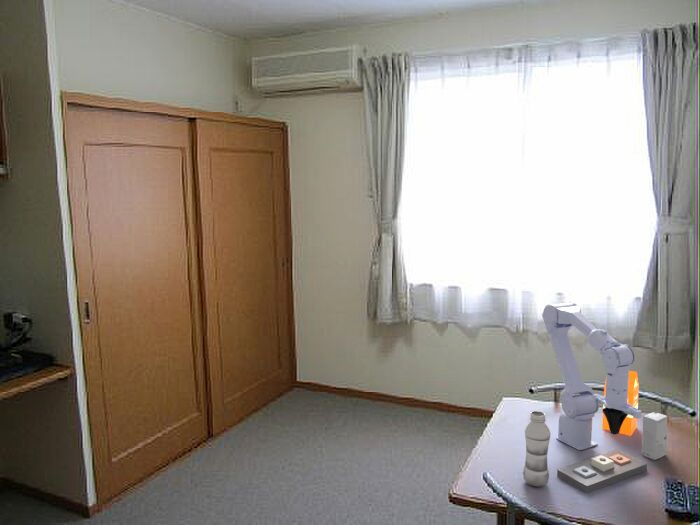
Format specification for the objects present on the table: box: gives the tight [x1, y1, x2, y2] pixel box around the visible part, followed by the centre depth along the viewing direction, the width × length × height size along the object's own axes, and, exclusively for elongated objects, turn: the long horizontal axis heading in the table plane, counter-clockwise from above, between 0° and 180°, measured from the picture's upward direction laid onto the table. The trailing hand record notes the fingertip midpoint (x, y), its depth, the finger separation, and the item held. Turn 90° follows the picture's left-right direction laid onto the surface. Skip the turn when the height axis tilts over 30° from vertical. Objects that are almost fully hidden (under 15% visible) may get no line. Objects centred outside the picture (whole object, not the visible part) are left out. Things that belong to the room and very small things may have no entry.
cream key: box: [591, 454, 614, 471], centre depth 161 cm, size 4×4×2 cm
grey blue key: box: [574, 466, 596, 479], centre depth 158 cm, size 4×4×2 cm
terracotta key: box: [609, 454, 630, 466], centre depth 164 cm, size 4×4×2 cm
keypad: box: [556, 448, 648, 494], centre depth 161 cm, size 10×24×2 cm, turn 117°
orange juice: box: [601, 370, 640, 437], centre depth 188 cm, size 8×9×20 cm
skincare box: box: [641, 411, 668, 461], centre depth 170 cm, size 6×4×12 cm
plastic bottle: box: [522, 410, 551, 488], centre depth 155 cm, size 6×7×20 cm
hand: (614, 433), depth 165 cm, fingers closed
